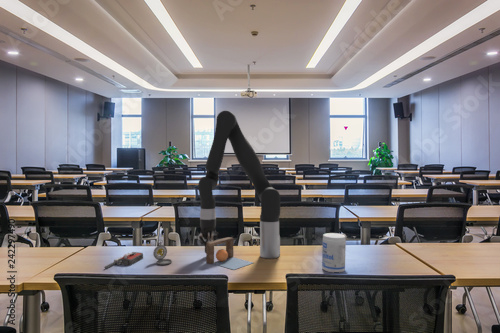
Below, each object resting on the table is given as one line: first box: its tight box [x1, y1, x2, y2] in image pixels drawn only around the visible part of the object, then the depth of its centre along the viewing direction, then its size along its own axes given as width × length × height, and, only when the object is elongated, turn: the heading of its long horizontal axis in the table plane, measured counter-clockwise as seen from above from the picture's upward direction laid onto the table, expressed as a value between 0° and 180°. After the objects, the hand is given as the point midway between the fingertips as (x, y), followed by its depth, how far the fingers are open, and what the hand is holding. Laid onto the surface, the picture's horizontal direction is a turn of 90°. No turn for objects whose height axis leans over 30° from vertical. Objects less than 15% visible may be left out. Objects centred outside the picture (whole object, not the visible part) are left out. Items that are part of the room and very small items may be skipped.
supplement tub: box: [321, 232, 347, 273], centre depth 144 cm, size 10×10×15 cm
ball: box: [215, 248, 229, 262], centre depth 155 cm, size 6×6×6 cm
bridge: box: [205, 236, 234, 265], centre depth 158 cm, size 3×14×9 cm, turn 139°
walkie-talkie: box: [104, 251, 144, 269], centre depth 153 cm, size 9×4×20 cm
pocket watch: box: [152, 239, 173, 266], centre depth 153 cm, size 8×8×10 cm
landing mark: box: [213, 256, 254, 271], centre depth 152 cm, size 13×13×1 cm
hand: (208, 253), depth 163 cm, fingers closed
